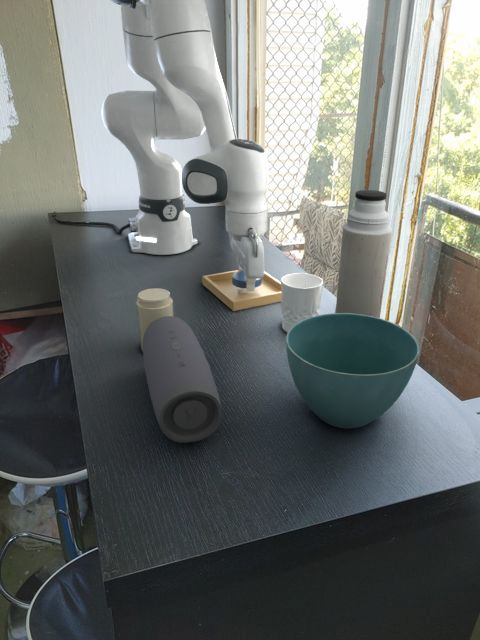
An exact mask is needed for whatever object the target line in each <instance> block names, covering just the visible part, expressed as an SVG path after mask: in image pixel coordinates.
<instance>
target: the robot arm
mask: <svg viewBox="0 0 480 640" xmlns="http://www.w3.org/2000/svg"><path fill="white" fill-rule="evenodd" d="M110 1H111V2H113V3H114V4H116V5H119V6H120V14H121V26H122V27H121V28H122V34H123V41H124V42H123V43H124V52H125V60H126V63H127V66H128V68H129V69H130V70H131V71H132V72H133V74H134V75H136V76H137V77H139V78H140V79H142V80H144V81H146V82H148V83H149V84H151V85H152V86H153V87H154V88H155V90H122V91H117V92H113V93H109V94H107V95H106V97H105V99H104V100H103V102H102V106H101V119H102V123H103V125H104V128H105V129H106V131H107V132H108V133H109V134H110V135H111V136H112V137H113V138H115V139H117V140H118V141H119V142H120V144H122V145H123V146H124V147H125V149H126V150H127V151H128V152H129V154H130V155H131V157H132V159H133V162H134V164H135V169H136V172H137V178H138V184H139V185H138V186H139V196H138V209H139V210H138V211H137V214H136V215H135V217H128V218H127V220H128V223H127V224H126V225H123V226H122V227H120V229H119V228H118V226H117V225H116V224H114V223H111V222H103V221H88V222H89V223H86V222H87V221H82V222H71V221H72V220H67V221H62V220H63V219H61V220H58V219H59V218H58V219H55V218H54V220H55V221H56V222H57V223H62V224H69V225H85V226H107V227H111V228H113V229H114V230H115V233H116V234H118V235H121V234H122V233H123V232H124V231H125V230H126V229H129V231H130V232H129V233H128V234H127V239H128V244H129V247H130V251H131V252H132V253H143V254H148V255H156V256H157V255H158V256H168V255H176V254H182V253H184V252H187V251H189V250H191V249H192V247H193V246H196V245H198V242H199V241H198V239H197V238H195V237H193V228H192V219H191V215H190V213H188V212H187V211H186V210H185V209H186V199H185V195H184V193H185V194H186V196H187V197H188V198H189V199H190V200H191V201H193V202H194V203H195V204H199V205H210V204H217V203H222V204H224V206H225V207H224V208H225V214H224V215H225V231H226V232H227V233H228V238H229V239H228V240H229V246H230V247H229V248H230V250H231V253H232V254H233V255H234V257H235V260H236V264H237V270H238V272H239V271H243V272H244V273H245V275H246V282H245V288H246V290H247V291H254V290H255V281H256V279H259V278H263V276H264V271H265V248H264V243H263V241H262V240H261V239H262V235H263V234H265V233H266V232H267V231H268V212H269V211H268V209H269V208H268V203H267V192H268V189H269V164H268V157H267V153H266V150H265V148H264V146H262V145H261V144H260V143H258V142H256V141H254V140H250V139H242V138H238V136H237V135H238V134H237V131H236V126H235V123H234V118H233V114H232V109H231V104H230V101H229V97H228V92H227V90H226V86H225V82H224V79H223V77H222V73H221V70H220V67H219V62H218V59H217V55H216V49H215V44H214V39H213V33H212V27H211V21H210V16H209V12H208V8H207V4H206V0H110ZM205 132H206V138H207V141H208V144H209V152H208V153H205V154H201V155H199V156H196V157H193V158H191V159H190V160H188V161H187V162H186V163H185V164H184V166H183V167H182V166H181V164H180V162H179V161H178V160H177V159H175V158H174V156H171V155H170V154H167V153H165V152H164V151H162V150H159V148H157V146H156V144H155V141H158V140H188V139H193V138H197V137H201V136H202V135H203V134H204V133H205ZM183 191H184V193H183ZM53 214H54V215H57V212H56V211H53V212H52V215H51V217H54V215H53Z"/></svg>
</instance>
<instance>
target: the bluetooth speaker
mask: <svg viewBox="0 0 480 640" xmlns="http://www.w3.org/2000/svg"><path fill="white" fill-rule="evenodd" d="M142 354H143V355H142V356H143V364H144V372H145V376H146V378H145V379H146V383H147V388H148V393H149V398H150V401H151V404H152V407H153V410H154V414H155V417H156V420H157V423H158V425H159V427H160V429H161V431H162V433H163V434H164V435H165V436H166V437H167V438H168V439H170V440H171V441H174V442H176V443H181V444H182V443H185V444H186V443H194V442H198V441H201V440H205V439H206V438H208V437H210V436H211V435H213V433H214V432H215V431H216V430H217V428H218V427H219V426H220V424H221V421H222V417H223V411H222V410H223V409H222V404H221V403H222V402H221V399H220V394H219V391H218V388H217V385H216V382H215V378H214V376H213V373H212V371H211V366H210V363H209V362H208V359H207V357H206V355H205V353H204V351H203V349H202V346H201V344H200V342H199V340H198V338H197V336H196V333H195V332H194V331H193V330H192V328H191V327H190V325H189V324H188V323H187V322H186V321H185V320H183V319H182V318H179V317H178V316H174V317H173V316H165V317H161V318H158V319H156V320H154V321H153V322H152V323H151V324H150V325H149V326H148V327H147V329H146V331H145V333H144V336H143V351H142Z"/></svg>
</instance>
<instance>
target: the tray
mask: <svg viewBox="0 0 480 640" xmlns="http://www.w3.org/2000/svg"><path fill="white" fill-rule="evenodd" d="M236 272H238V269H237V270H231V271H224V272H218V273H212V274H207V275H202V276H201V278H202V285H203V286H204V287H205V288H206V289H207V290H208V291H210V293H211V294H213V295H214V296H215V297H216V298H218V299H219V300H220V302H222V303H223V304H224V305H225V306H226V307H228V308H229V309H230V310H231V311H233V312H237V311H241V310H245V309H246V310H247V309H252V308H256V307H261V306H265V305H270V304H276V303H281V280H279V279H277V278H276V277H274V276H273V275H271V274H269V273H268V272H267V271H265V270H264V276H263V278H262V284H261V285H260V286H259V287H256V288H255V290H254V291H247V290H246V288H239V287H236V286H234V285H233V284H232V275H233V274H234V273H236Z"/></svg>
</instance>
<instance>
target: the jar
mask: <svg viewBox="0 0 480 640" xmlns="http://www.w3.org/2000/svg"><path fill="white" fill-rule="evenodd" d="M135 305H136V313H137V314H136V315H137V320H138V321H137V322H138V331H139V339H140V340H139V341H140V349H141V351H142V352H143V336H144V333H145V331H146V329H147V327H148V326H149V325H150V324H151V323H152V322H153V321H154V320H156V319H158V318H161V317H165V316H173V317H175V316H174V315H175V314H174V313H175V311H174V300H173V298H172V297H171V293H170V291H169V290H167V289H164V288H158V287H154V288H147V289H143V290H141V291H140V292H139V293H137V300H136V304H135Z"/></svg>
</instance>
